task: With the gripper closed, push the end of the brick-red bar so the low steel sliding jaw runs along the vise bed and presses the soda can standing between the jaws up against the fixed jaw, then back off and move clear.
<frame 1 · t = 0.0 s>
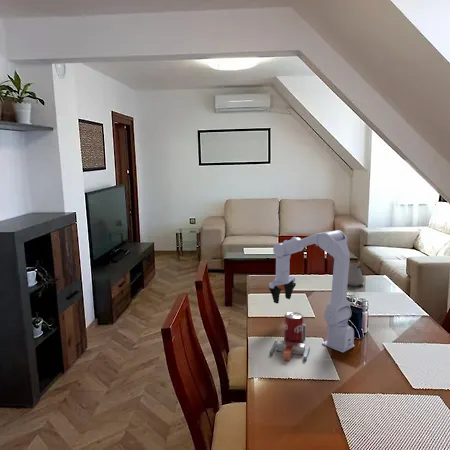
hand: (282, 300, 177), 10 cm above the table, tool pointing down, fingers open, 7 cm apart
soda can: (293, 345, 158), on the table
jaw: (289, 350, 150), point 2 cm above the table, slide at 0.0 cm
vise: (293, 345, 158), on the table
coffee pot: (355, 287, 226), on the table
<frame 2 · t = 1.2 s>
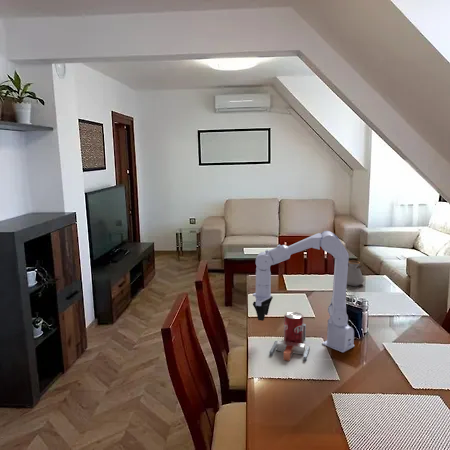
hand: (262, 317, 160), 10 cm above the table, tool pointing down, fingers open, 5 cm apart
nothing on the table moved.
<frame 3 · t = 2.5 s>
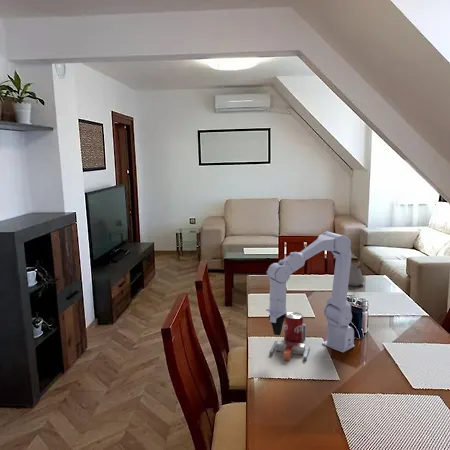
hand: (277, 334, 145), 10 cm above the table, tool pointing down, fingers closed
nothing on the table moved.
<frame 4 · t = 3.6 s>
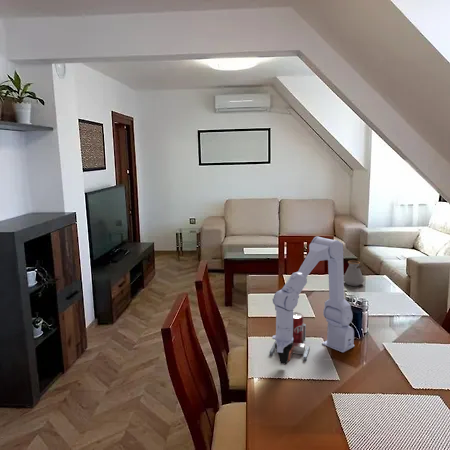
hand: (283, 362, 141), 2 cm above the table, tool pointing down, fingers closed
nothing on the table moved.
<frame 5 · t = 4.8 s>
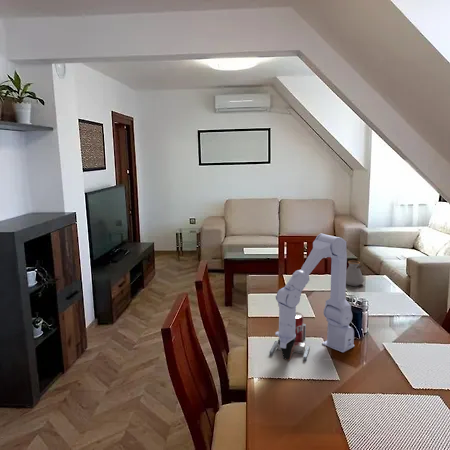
hand: (286, 358, 145), 1 cm above the table, tool pointing down, fingers closed
soda can: (293, 344, 158), on the table, touching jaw
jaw: (289, 350, 150), point 2 cm above the table, slide at 0.7 cm, touching gripper, soda can
everything else where it was.
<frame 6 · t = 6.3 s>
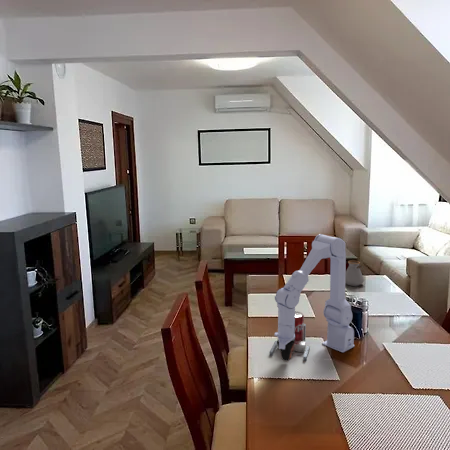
hand: (285, 359, 144), 1 cm above the table, tool pointing down, fingers closed
soda can: (293, 343, 159), on the table
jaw: (290, 348, 151), point 2 cm above the table, slide at 1.7 cm
everything else where it was.
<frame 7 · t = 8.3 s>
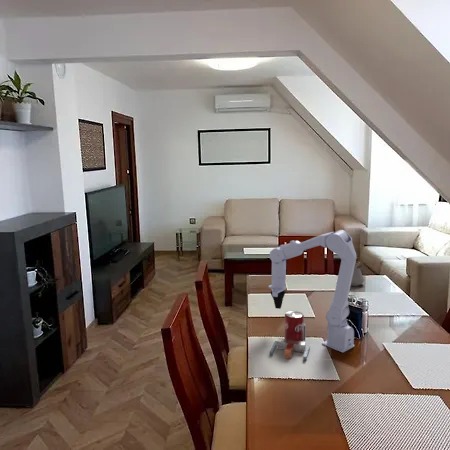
hand: (278, 307, 169), 10 cm above the table, tool pointing down, fingers closed
nothing on the table moved.
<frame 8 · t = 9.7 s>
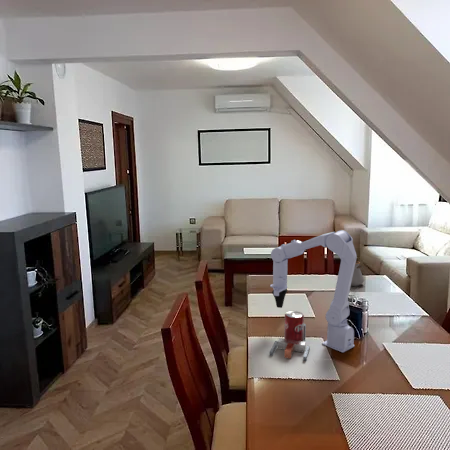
hand: (279, 307, 170), 10 cm above the table, tool pointing down, fingers closed
nothing on the table moved.
at the end: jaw slide at 1.7 cm; soda can moved 1.1 cm from its start; soda can tilted 0° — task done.
